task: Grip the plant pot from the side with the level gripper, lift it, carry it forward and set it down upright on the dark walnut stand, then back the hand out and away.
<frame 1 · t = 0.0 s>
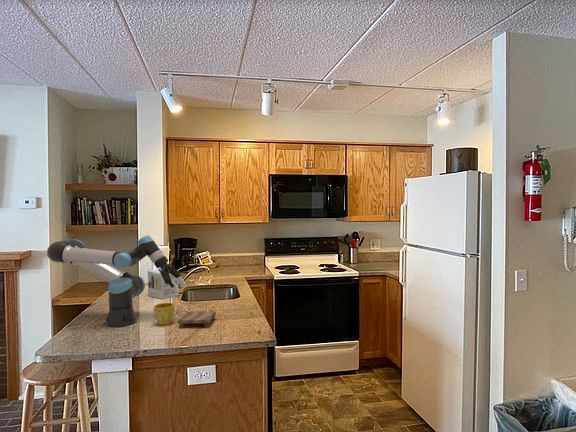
hand: (181, 288, 218), 15 cm above the worktop, tool tilted 35°, fingers open, 13 cm apart
plant pot: (164, 323, 205), on the worktop
walnut stand: (197, 323, 204), on the worktop
supplement box: (163, 296, 266), on the worktop
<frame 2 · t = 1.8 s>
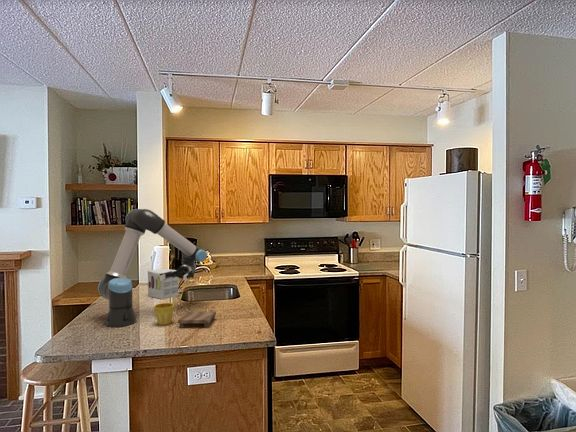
hand: (172, 278, 218), 22 cm above the worktop, tool horizontal, fingers open, 13 cm apart
nothing on the worktop moved.
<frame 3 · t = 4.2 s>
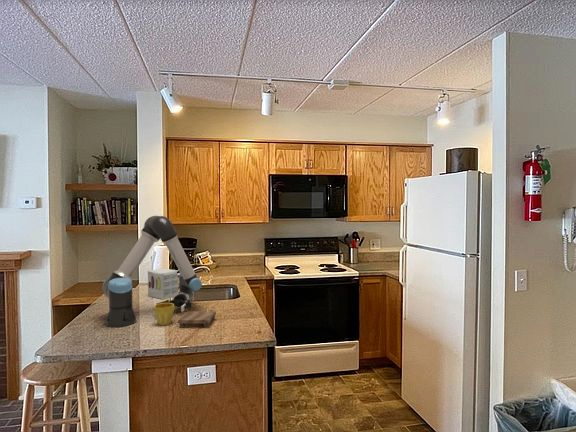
hand: (169, 309, 210), 6 cm above the worktop, tool horizontal, fingers open, 13 cm apart
nothing on the worktop moved.
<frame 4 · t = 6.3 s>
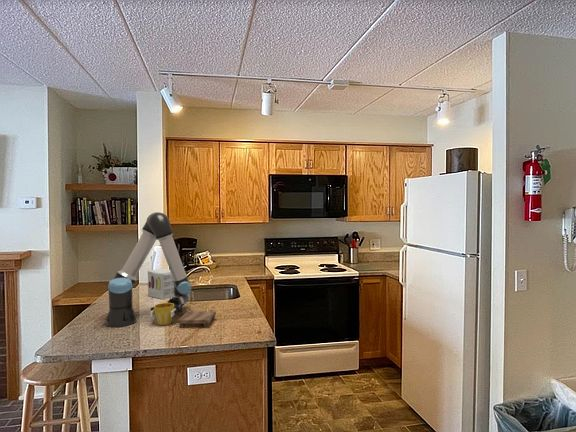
hand: (161, 314, 200), 6 cm above the worktop, tool horizontal, fingers closed on plant pot, 10 cm apart
plant pot: (164, 323, 205), on the worktop, touching gripper
everything else where it was.
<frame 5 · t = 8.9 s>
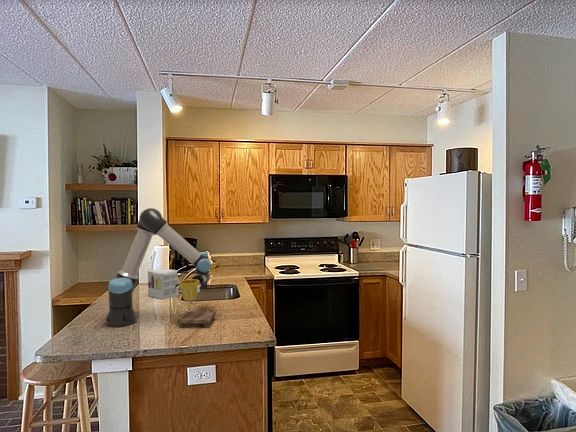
hand: (187, 289, 200), 19 cm above the worktop, tool horizontal, fingers closed on plant pot, 10 cm apart
plant pot: (189, 299, 205), point 12 cm above the worktop, touching gripper
everything else where it was.
when the fingers open (11 cm above the worktop, at t = 11.4 s): plant pot drops 1 cm, resting on walnut stand.
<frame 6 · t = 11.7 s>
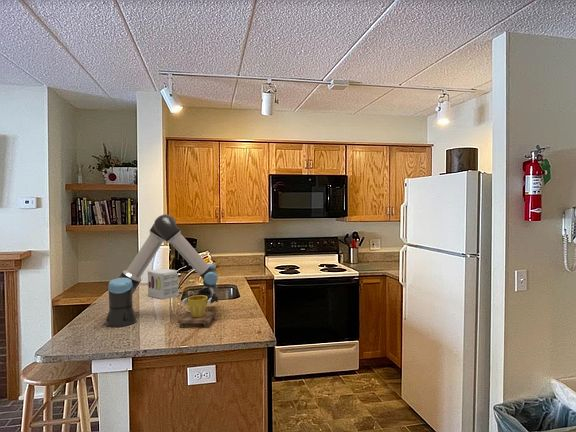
hand: (195, 303, 200), 11 cm above the worktop, tool horizontal, fingers open, 13 cm apart
plant pot: (198, 315, 204), point 4 cm above the worktop, touching walnut stand
everything else where it was.
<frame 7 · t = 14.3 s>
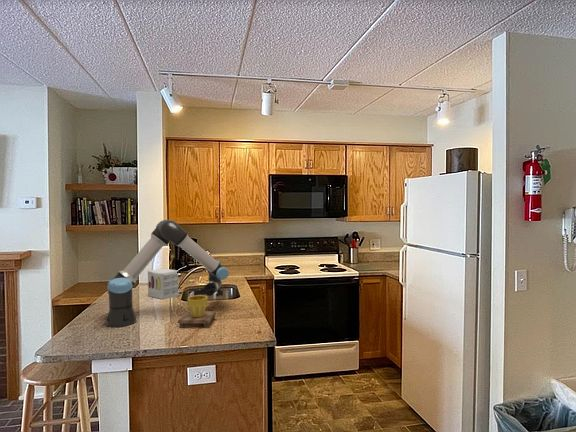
hand: (202, 296, 213), 12 cm above the worktop, tool horizontal, fingers open, 13 cm apart
nothing on the worktop moved.
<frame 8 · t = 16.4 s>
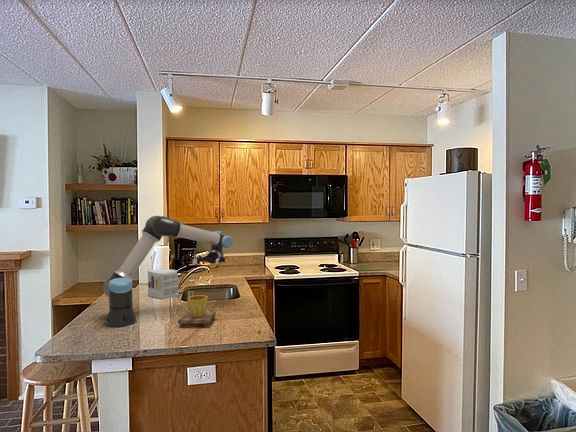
hand: (204, 262, 221), 30 cm above the worktop, tool horizontal, fingers open, 13 cm apart
nothing on the worktop moved.
at the end: plant pot inside the target area on the walnut stand (0.2 cm from its centre), point 3.8 cm above the walnut stand's base; plant pot tilted 0°; the gripper is holding nothing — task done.
